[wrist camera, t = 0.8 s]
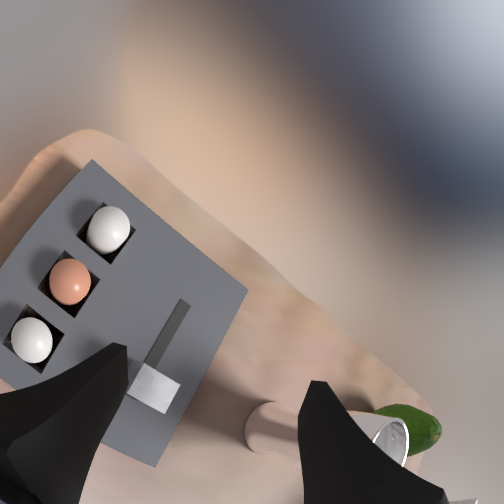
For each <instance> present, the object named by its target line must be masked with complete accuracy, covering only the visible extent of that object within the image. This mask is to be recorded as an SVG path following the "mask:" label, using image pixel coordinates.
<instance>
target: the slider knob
mask: <svg viewBox="0 0 504 504" xmlns="http://www.w3.org/2000/svg"><path fill="white" fill-rule="evenodd" d="M128 381H129V385H128V387H127V390H126V393H127V394H129V395H131V396H133V397H134V398H136V399H138V400H140V401H141V402H143V403H145V404H147V405H149V406H150V407H152V408H154V409H156V410H158V411H160V412H162V413H164V414H165V413H166V411H167V409H168V407H169V405H170V403H171V401H172V400H173V398H174V396H175V394H176V392H177V390H178V388H179V387H180V384H178V383H176V382H175V381H173V380H171V379H170V378H168V377H166V376H165V375H163V374H161V373H160V372H158V371H156V370H155V369H153V368H152V367H150V366H148V365H147V364H145V363H143V362H140V361H137V360H134V359H132V361H131V362H130V364H129V366H128Z"/></svg>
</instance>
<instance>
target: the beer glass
mask: <svg viewBox="0 0 504 504" xmlns="http://www.w3.org/2000/svg"><path fill="white" fill-rule="evenodd" d="M347 412H348V413H349V414H350V416H351V417H352V418H353V420H354V421H355V422H356V423H357V425H358V426H359V427H360V428H361V429H362V430H363V431H364V433H365V434H366V435H367V436H368V437H369V438H370V439H371V440H372V441H373V442H374V443H375V444H376V445H377V446H378V447H379V448H380V449H381V450H382V451H384V452H385V453H386V454H387V455H388V456H389V457H391V458H392V459H393V460H395V461H396V462H397V463H399V464H400V465H401V466H403V465H404V463H405V460H406V456H407V452H408V445H409V435H408V429H407V426H406V424H405V422H404V421H403V420H402V419H400V418H393V417H387V416H382V415H377V414H372V413H366V412H359V411H350V410H347ZM298 414H299V411H296V410H292V409H290V408H288V407H286V406H284V405H282V404H280V403H276V402H266V403H263V404H261V405H259V406H258V407H256V408H255V409H254V410H253V411H252V412H251V414H250V415H249V417H248V419H247V421H246V424H245V429H244V436H245V441H246V443H247V445H248V446H249V448H250V449H251V450H252V451H254V452H256V453H258V454H262V455H268V456H274V457H278V458H280V459H282V460H284V461H286V462H287V463H289V464H290V465H292V466H293V467H295V468H296V469H298V470H299V471H301V472H302V468H301V460H300V453H299V445H298Z"/></svg>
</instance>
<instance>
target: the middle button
mask: <svg viewBox="0 0 504 504" xmlns="http://www.w3.org/2000/svg"><path fill="white" fill-rule="evenodd" d="M90 284H91V279H90V274H89V271H88V270H87V268H86V267H85V265H84V264H83V263H81V262H80V261H78V260H75V259H64V260H61V261H59V262H58V263H57V264H56V265H55V266H54V267H53V269H52V271H51V273H50V291H51V294H52V296H53V298H54V299H55V300H56V301H57V302H58V303H60V304H62V305H65V306H72V305H75V304H77V303H78V302H80V301H81V300H82V299H83V298H84V297H85V296H86V295H87V293H88V291H89V289H90Z"/></svg>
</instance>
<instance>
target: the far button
mask: <svg viewBox="0 0 504 504" xmlns="http://www.w3.org/2000/svg"><path fill="white" fill-rule="evenodd" d="M129 232H130V222H129V219H128V217H127V215H126V214H125V213H124V212H123V211H122V210H121V209H119V208H117V207H113V206H106V207H103V208H101V209H99V210H98V211H97V212H96V213H95V214H94V216H93V218H92V220H91V222H90V225H89V227H88V229H87V232H86V243H87V245H88V247H90V248H91V249H92V250H93V251H94V252H96V253H97V254H98V255H100V256H107V255H110V254H112V253H114V252H115V251H116V250H117V248H118V247H119V246H120V245H121V244H122V243H123V242H124V241H125V239H126V238H127V237H128V235H129Z"/></svg>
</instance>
